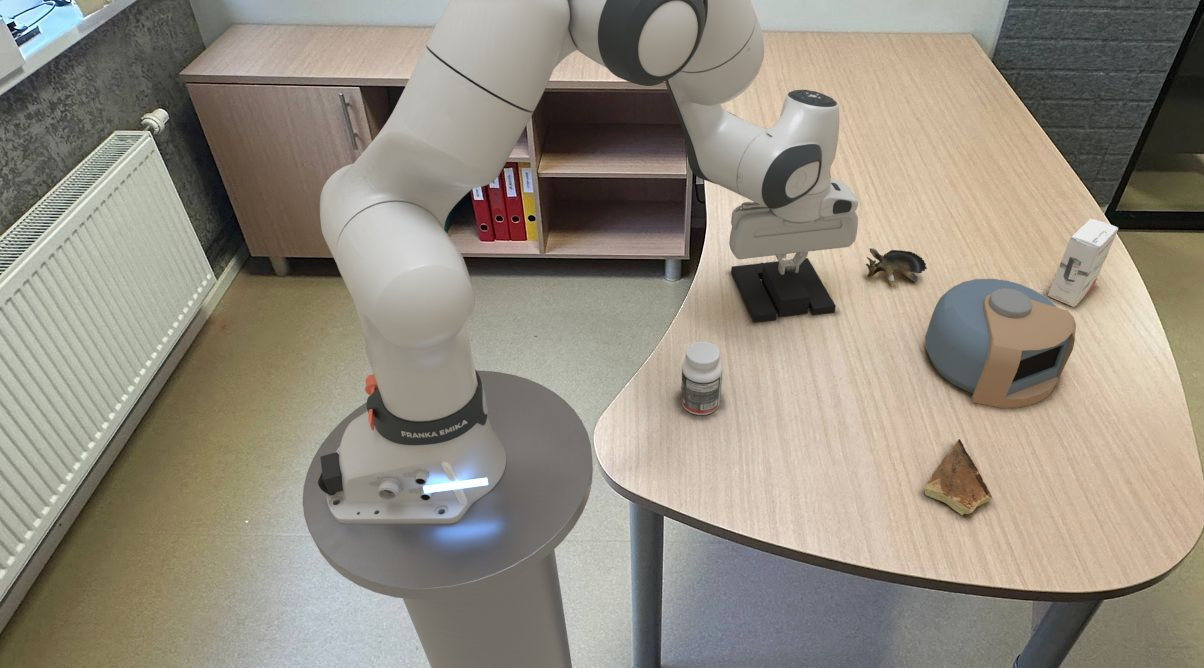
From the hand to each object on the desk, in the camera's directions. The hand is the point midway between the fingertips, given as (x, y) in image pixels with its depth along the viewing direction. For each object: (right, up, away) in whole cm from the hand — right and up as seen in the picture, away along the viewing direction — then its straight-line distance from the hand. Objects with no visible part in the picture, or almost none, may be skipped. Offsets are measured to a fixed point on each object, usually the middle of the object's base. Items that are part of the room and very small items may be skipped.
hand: (788, 271), depth 129 cm
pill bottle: (-15, -21, -15) cm, 30 cm away
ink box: (+49, -3, +6) cm, 50 cm away
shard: (+17, -32, -25) cm, 44 cm away
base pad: (0, -3, +5) cm, 5 cm away
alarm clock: (+30, -15, -8) cm, 34 cm away
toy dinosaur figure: (+19, 0, +8) cm, 21 cm away
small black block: (0, -4, +4) cm, 5 cm away
